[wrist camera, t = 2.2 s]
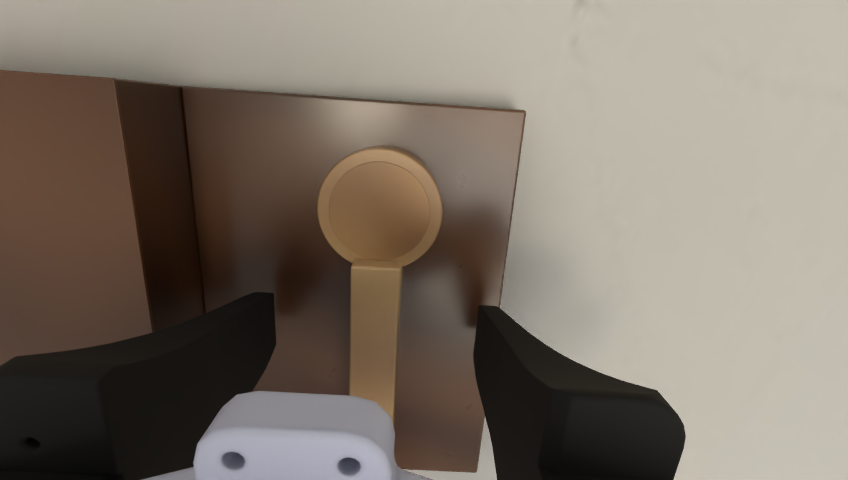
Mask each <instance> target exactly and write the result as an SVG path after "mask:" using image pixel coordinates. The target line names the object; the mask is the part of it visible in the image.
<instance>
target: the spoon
mask: <svg viewBox="0 0 848 480" xmlns="http://www.w3.org/2000/svg"><path fill="white" fill-rule="evenodd" d="M442 213H443V207H442V199H441V195H440V191H439V187H438V185H437V182H436V180H435V178H434V176H433V174H432V173H431V171H430V170H429V169H428V167H427V166H426V165H425V164H424V163H423V162H422V161H421V160H420V159H418V158H417V157H416V156H414V155H413V154H411V153H409V152H407V151H405V150H402V149H400V148H396V147H392V146H370V147H366V148H362V149H360V150H357V151H355V152H353V153H351V154H350V155H348V156H346V157H345V158H343V159H341V160H340V161H339V162H338V163H337V164H335V165H334V167H333V168H332V169H331V170H330V171H329V172H328V174H327V175H326V177H325V179H324V181H323V183H322V185H321V188H320V191H319V195H318V200H317V214H318V220H319V224H320V227H321V230H322V232H323V234H324V236H325V238H326V240H327V241H328V242H329V244H330V245H331V246H332V248H333V249H334V250H335V251H336V252H337V253H338V254H339V255H341V256H342V257H343V258H345V259H346V260H348V261H349V262H351V263H353V264H352V266H351V278H350V354H349V396H356V397H360V398H363V399H367V400H371V401H374V402H376V403H377V404H378V405H379V406H380V407H381V408H383V409H384V410H385V411H386V412H387V413H388V414H389V415H390V416H391V420H392V424H393V427H394V418H395V400H396V382H397V364H398V346H399V327H400V309H401V291H402V273H403V266H406V265H408V264H410V263H412V262H414V261H415V260H417V259H418V258H420V257H421V256H422V255H423V254H424V253H425V252H426V251H427V250H428V249H429V248H430V247H431V245H432V244H433V242H434V241H435V239H436V237H437V235H438V233H439V230H440V226H441V222H442Z"/></svg>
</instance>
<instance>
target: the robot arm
mask: <svg viewBox="0 0 848 480" xmlns="http://www.w3.org/2000/svg"><path fill="white" fill-rule="evenodd" d="M275 347H276V326H275V307H274V293H267V292H254V293H251V294H248V295H246V296H243V297H241V298H239V299H236V300H234V301H232V302H230V303H227V304H225V305H223V306H221V307H218V308H216V309H214V310H212V311H210V312H207V313H205V314H202V315H200V316H197V317H195V318H192V319H190V320H187V321H185V322H182V323H180V324H177V325H174V326H171V327H168V328H165V329H162V330H159V331H156V332H153V333H149V334H146V335H142V336H138V337H134V338H130V339H126V340H122V341H117V342H113V343H108V344H103V345H98V346H93V347H87V348H81V349H75V350H68V351H60V352H52V353H43V354H34V355H24V356H16V357H14V358H12V359H10V360H9V361H7V362H5V363H4V364H2V365H0V480H432V479H429V478H426V477H423V476H420V475H417V474H414V473H411V472H408V471H405V470H402V469H401V468H400V467H398V466H397V464H396V462H395V457H394V441H395V431H394V427H393V424H392V420H391V416H390V415H389V414H388V413H387V412H386V411H385V410H384V409H383V408H381V407H380V406H379V405H378V404H377V403H376V402H374V401H371V400H367V399H363V398H360V397H356V396H347V395H328V394H309V393H290V392H271V391H255V392H252V391H253V389H254V388H255V386H256V385H257V383H258V381H259V380H260V378H261V376H262V375H263V373H264V371H265V370H266V368H267V366H268V363H269V361H270V359H271V357H272V354H273V352H274V349H275ZM473 360H474V369H475V377H476V382H477V386H478V390H479V394H480V398H481V402H482V406H483V410H484V413H485V417H486V421H487V425H488V428H489V432H490V437H491V442H492V446H493V453H494V460H495V467H496V474H497V480H673V479H674V476H675V473H676V470H677V467H678V464H679V461H680V458H681V455H682V452H683V449H684V443H685V437H686V436H685V430H684V425H683V423H682V421H681V419H680V418H679V416H678V414H677V413H676V412H675V411H674V410H673V408H672V407H671V406H670V405H669V404H668V403H667V401H666V400H665V399H664V398H663V397H662V395H661V394H660V393H659V392H658V391H657V390H653V389H650V388H646V387H643V386H639V385H635V384H632V383H628V382H625V381H621V380H619V379H616V378H613V377H610V376H607V375H605V374H602V373H599V372H597V371H595V370H592V369H590V368H588V367H586V366H583V365H581V364H579V363H577V362H575V361H573V360H571V359H569V358H567V357H565V356H564V355H562V354H560V353H558V352H557V351H555V350H553V349H552V348H550V347H548V346H547V345H545V344H544V343H542V342H541V341H540V340H538V339H537V338H535V337H534V336H533V335H531V334H530V333H529V332H527V331H526V330H525V329H524V328H522V327H521V326H520V325H519V324H518V323H516V322H515V321H514V320H513V319H512V318H511V317H509V316H508V315H507V314H506V313H505V312H503V311H502V310H501V309H500V308H499V307H497V306H488V305H479V310H478V318H477V326H476V335H475V343H474V351H473Z"/></svg>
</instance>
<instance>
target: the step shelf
mask: <svg viewBox="0 0 848 480" xmlns="http://www.w3.org/2000/svg"><path fill="white" fill-rule="evenodd" d="M525 117H526V112H525V111H524V110H514V109H500V108H486V107H472V106H458V105H444V104H429V103H415V102H401V101H387V100H373V99H359V98H345V97H331V96H317V95H303V94H289V93H275V92H260V91H246V90H232V89H218V88H204V87H190V86H177V85H168V84H160V83H151V82H142V81H133V80H124V79H116V78H104V77H90V76H76V75H62V74H47V73H33V72H19V71H5V70H0V365H2V364H4V363H5V362H7V361H9V360H10V359H12V358H14V357H16V356H24V355H34V354H43V353H52V352H60V351H68V350H75V349H81V348H87V347H93V346H98V345H103V344H108V343H113V342H117V341H122V340H126V339H130V338H134V337H138V336H142V335H146V334H149V333H153V332H156V331H159V330H162V329H165V328H168V327H171V326H174V325H177V324H180V323H182V322H185V321H187V320H190V319H192V318H195V317H197V316H200V315H202V314H205V313H207V312H210V311H212V310H214V309H216V308H218V307H221V306H223V305H225V304H227V303H230V302H232V301H234V300H236V299H239V298H241V297H243V296H246V295H248V294H251V293H254V292H267V293H274V307H275V326H276V347H275V349H274V352H273V354H272V357H271V359H270V361H269V363H268V366H267V368H266V370H265V371H264V373H263V375H262V376H261V378H260V380H259V381H258V383H257V385H256V386H255V388H254V389H253V391H252V392H255V391H271V392H290V393H309V394H328V395H347V396H349V354H350V278H351V266H352V264H353V263H351V262H349V261H348V260H346V259H345V258H343V257H342V256H341V255H339V254H338V253H337V252H336V251H335V250H334V249H333V248H332V246H331V245H330V244H329V242H328V241H327V240H326V238H325V236H324V234H323V232H322V230H321V227H320V224H319V220H318V214H317V200H318V195H319V191H320V188H321V185H322V183H323V181H324V179H325V177H326V175H327V174H328V172H329V171H330V170H331V169H332V168H333V167H334V165H335V164H337V163H338V162H339V161H340V160H341V159H343V158H345V157H346V156H348V155H350V154H351V153H353V152H355V151H357V150H360V149H362V148H366V147H370V146H392V147H396V148H400V149H402V150H405V151H407V152H409V153H411V154H413V155H414V156H416V157H417V158H418V159H420V160H421V161H422V162H423V163H424V164H425V165H426V166H427V167H428V169H429V170H430V171H431V173H432V174H433V176H434V178H435V180H436V182H437V185H438V187H439V191H440V195H441V199H442V207H443V213H442V222H441V226H440V230H439V233H438V235H437V237H436V239H435V241H434V242H433V244H432V245H431V247H430V248H429V249H428V250H427V251H426V252H425V253H424V254H423V255H422V256H421V257H420V258H418V259H417V260H415V261H414V262H412V263H410V264H408V265H406V266H403V273H402V291H401V309H400V327H399V346H398V364H397V382H396V400H395V418H394V431H395V441H394V457H395V462H396V464H397V466H398V467H400V468H401V469H410V470H431V471H452V472H472V473H475V472H477V468H478V461H479V453H480V446H481V439H482V431H483V424H484V417H485V413H484V410H483V406H482V402H481V398H480V394H479V390H478V386H477V382H476V377H475V369H474V360H473V351H474V343H475V335H476V326H477V318H478V310H479V305H488V306H497V307H500V300H501V292H502V285H503V278H504V270H505V263H506V256H507V248H508V241H509V234H510V226H511V219H512V212H513V204H514V197H515V190H516V183H517V175H518V168H519V161H520V153H521V146H522V139H523V131H524V124H525Z"/></svg>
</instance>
